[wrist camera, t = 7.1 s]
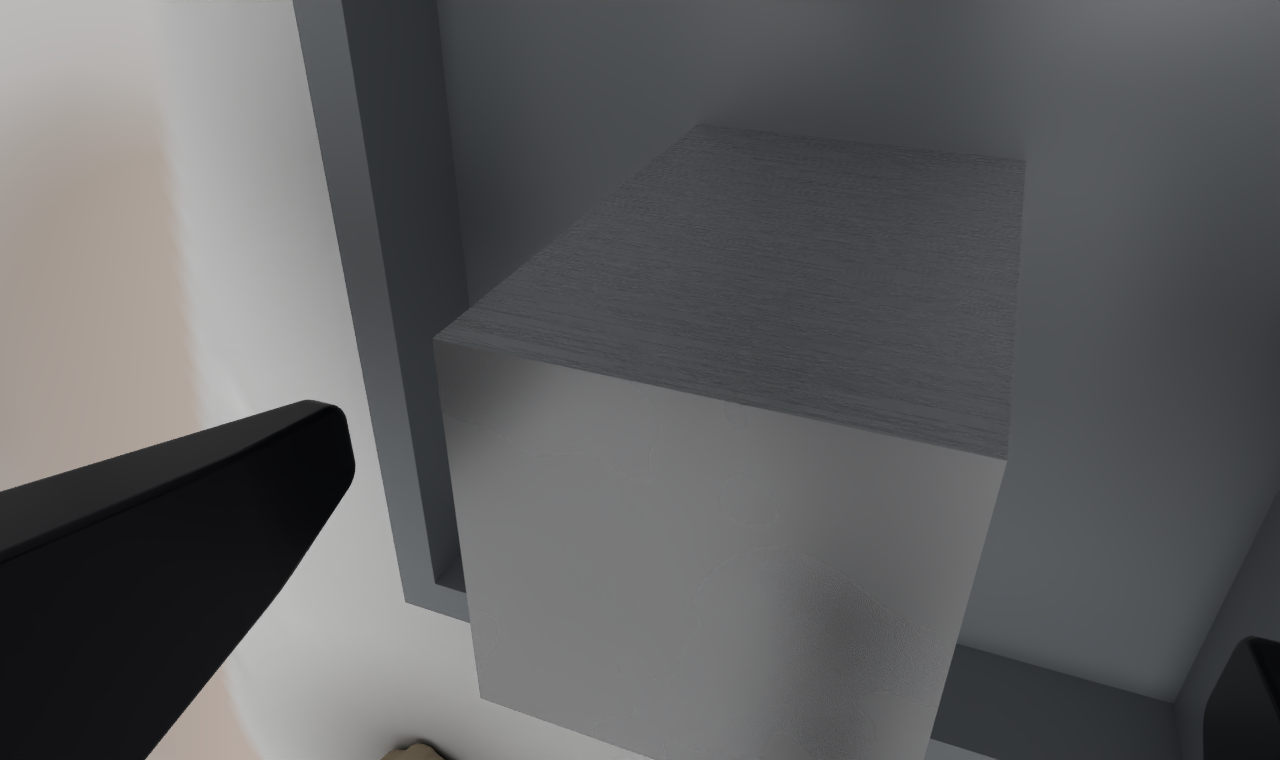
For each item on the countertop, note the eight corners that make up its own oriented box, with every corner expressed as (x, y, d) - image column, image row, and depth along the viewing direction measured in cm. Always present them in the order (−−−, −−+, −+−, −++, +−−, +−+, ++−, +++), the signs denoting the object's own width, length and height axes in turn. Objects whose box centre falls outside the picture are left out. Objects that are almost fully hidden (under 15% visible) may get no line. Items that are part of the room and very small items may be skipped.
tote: (1204, 712, 16) (1233, 870, 13) (481, 511, 20) (405, 601, 18) (1760, -353, 8) (2072, -437, 5) (389, -289, 12) (232, -320, 10)
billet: (958, 441, 14) (899, 845, 8) (686, 384, 15) (480, 698, 10) (1025, 160, 11) (1006, 460, 6) (697, 123, 13) (432, 338, 7)
